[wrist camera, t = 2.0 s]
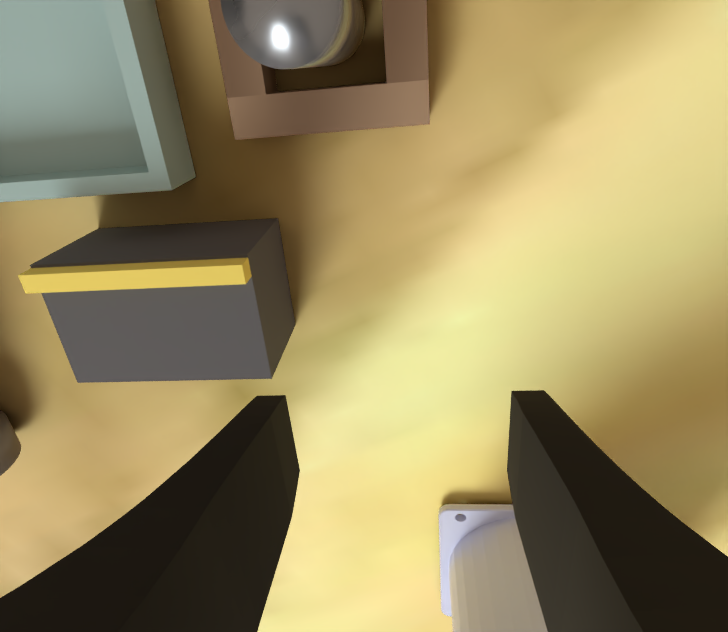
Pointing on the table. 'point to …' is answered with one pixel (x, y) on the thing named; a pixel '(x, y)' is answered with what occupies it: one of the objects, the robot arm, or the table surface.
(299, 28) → the pin
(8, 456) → the trolley
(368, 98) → the pin holder
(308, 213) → the table surface
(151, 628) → the robot arm
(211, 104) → the table surface
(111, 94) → the tray
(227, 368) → the chock
